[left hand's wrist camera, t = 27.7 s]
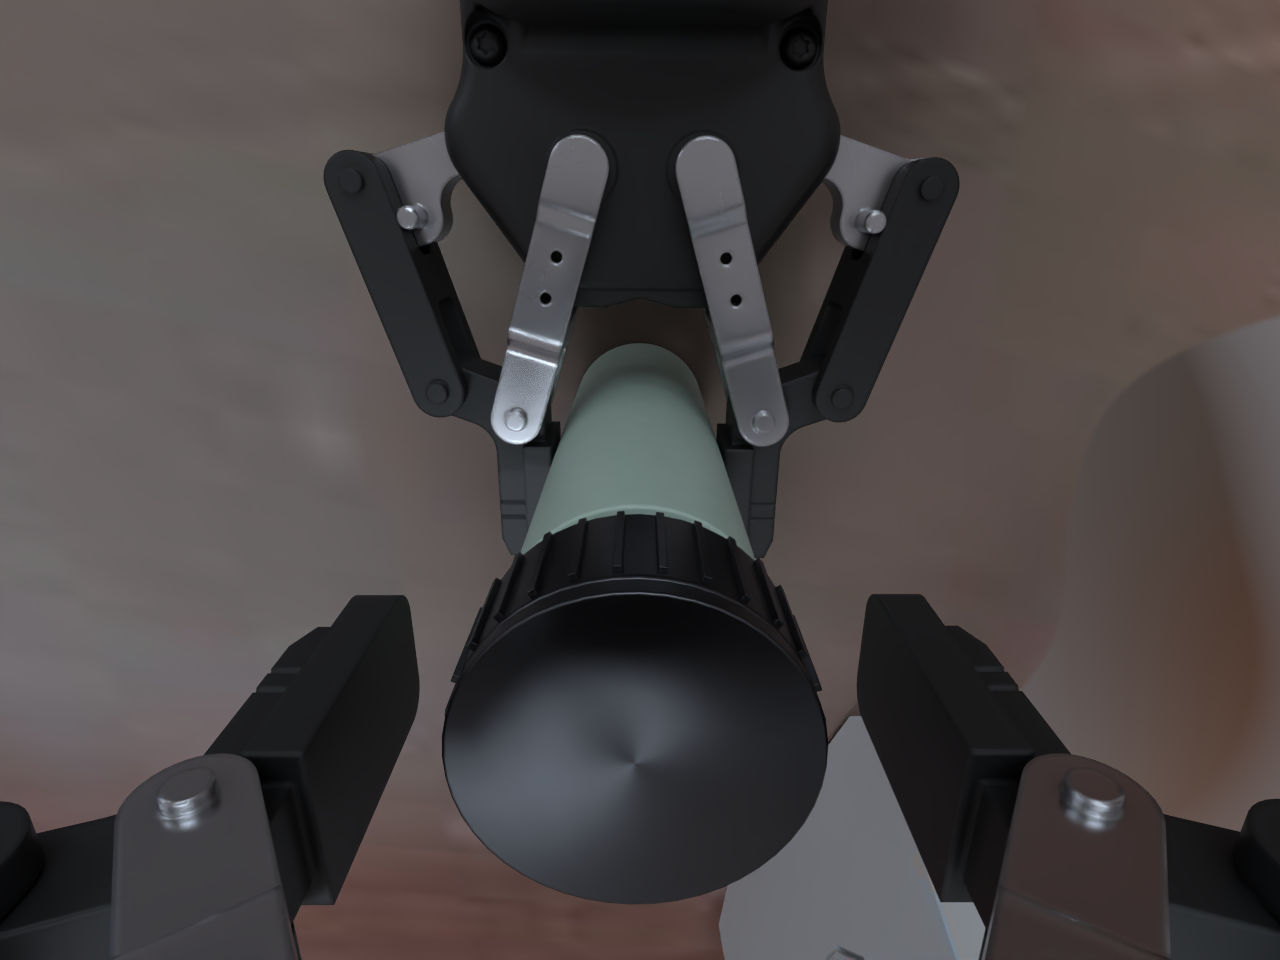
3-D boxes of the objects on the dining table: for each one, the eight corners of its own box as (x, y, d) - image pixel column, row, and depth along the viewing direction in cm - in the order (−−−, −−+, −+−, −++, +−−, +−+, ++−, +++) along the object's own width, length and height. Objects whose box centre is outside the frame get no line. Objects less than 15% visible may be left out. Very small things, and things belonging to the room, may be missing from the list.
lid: (466, 503, 10) (420, 581, 8) (813, 511, 10) (859, 591, 8) (483, 779, 12) (448, 906, 10) (781, 786, 12) (811, 913, 10)
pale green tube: (552, 383, 25) (409, 663, 9) (661, 318, 24) (697, 508, 9) (618, 484, 26) (585, 876, 11) (723, 426, 25) (850, 757, 10)
